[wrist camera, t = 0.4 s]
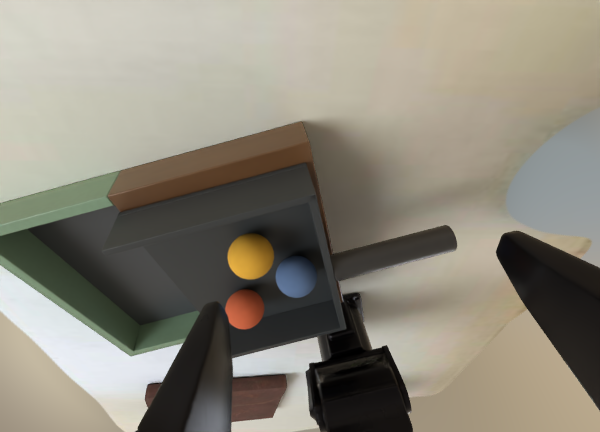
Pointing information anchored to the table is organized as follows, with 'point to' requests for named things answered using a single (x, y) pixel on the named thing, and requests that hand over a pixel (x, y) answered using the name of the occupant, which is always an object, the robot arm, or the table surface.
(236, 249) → the mustard ball
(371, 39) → the table surface
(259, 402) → the notebook
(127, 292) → the bin
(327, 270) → the pan
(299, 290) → the slate-blue ball
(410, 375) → the table surface
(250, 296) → the terracotta ball
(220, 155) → the stand
